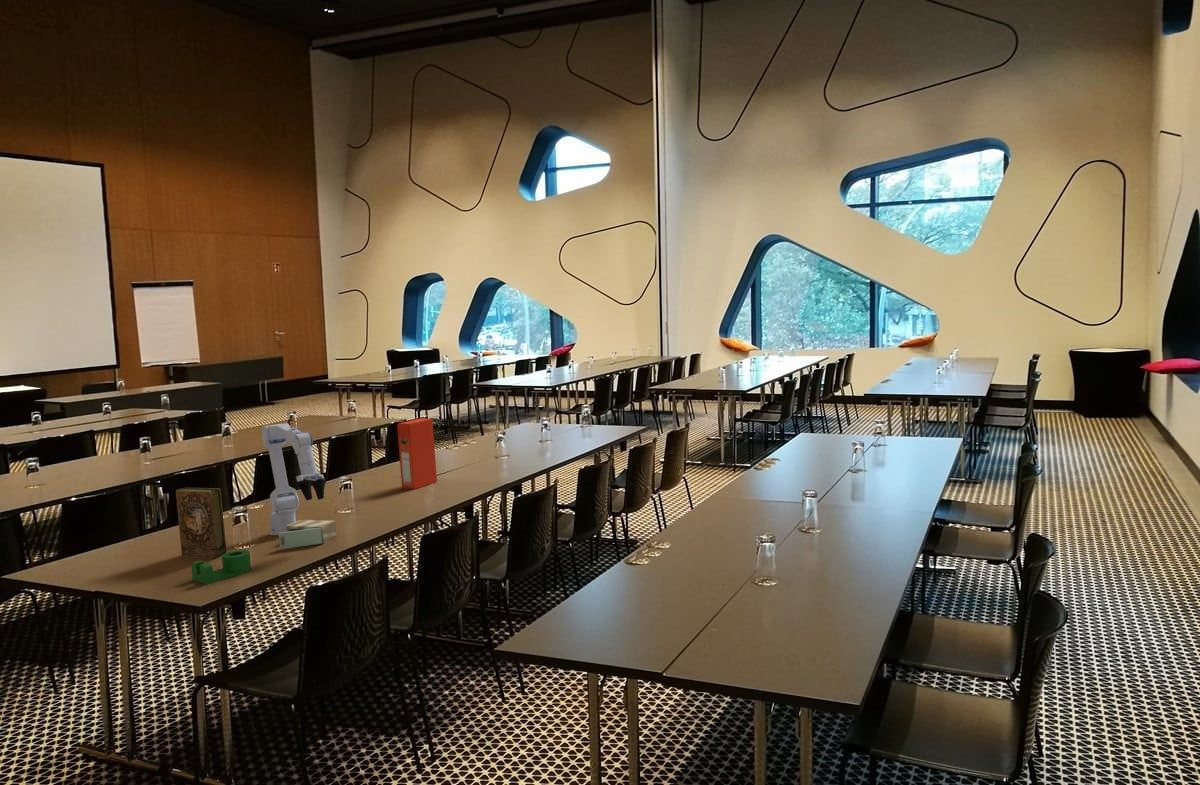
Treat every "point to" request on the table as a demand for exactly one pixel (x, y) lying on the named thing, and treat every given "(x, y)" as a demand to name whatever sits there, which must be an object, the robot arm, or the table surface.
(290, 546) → the door
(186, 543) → the book
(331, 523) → the cabinet
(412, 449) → the file binder
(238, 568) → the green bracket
